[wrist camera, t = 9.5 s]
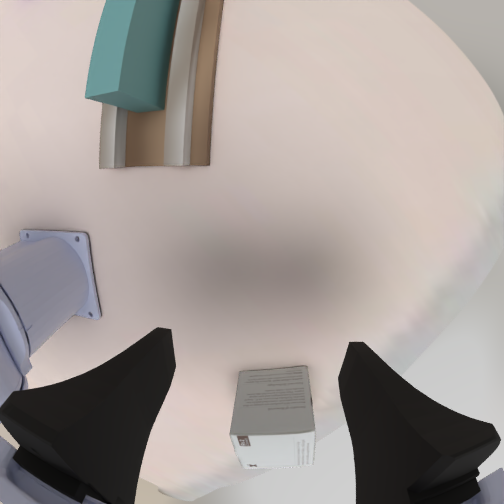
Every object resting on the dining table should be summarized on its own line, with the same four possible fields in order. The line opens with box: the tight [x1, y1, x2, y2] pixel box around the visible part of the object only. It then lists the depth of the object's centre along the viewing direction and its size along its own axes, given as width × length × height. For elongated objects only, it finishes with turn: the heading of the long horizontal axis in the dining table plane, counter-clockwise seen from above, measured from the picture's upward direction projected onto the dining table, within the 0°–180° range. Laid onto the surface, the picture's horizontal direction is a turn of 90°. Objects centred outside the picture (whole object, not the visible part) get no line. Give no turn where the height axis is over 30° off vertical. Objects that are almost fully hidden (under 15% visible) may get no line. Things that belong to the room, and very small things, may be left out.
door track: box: [99, 0, 224, 169], centre depth 13 cm, size 8×18×2 cm, turn 177°
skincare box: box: [230, 366, 316, 469], centre depth 20 cm, size 6×6×7 cm
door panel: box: [85, 0, 180, 113], centre depth 11 cm, size 2×10×6 cm, turn 177°
